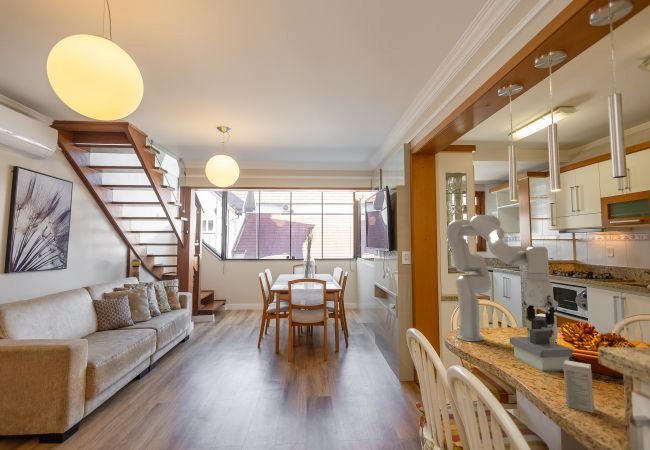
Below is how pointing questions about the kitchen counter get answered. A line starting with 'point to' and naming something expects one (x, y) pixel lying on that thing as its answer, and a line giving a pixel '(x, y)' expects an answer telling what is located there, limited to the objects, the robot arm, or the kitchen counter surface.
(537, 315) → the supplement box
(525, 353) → the box
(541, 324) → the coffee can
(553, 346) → the lid
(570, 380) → the skincare box
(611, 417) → the kitchen counter surface
